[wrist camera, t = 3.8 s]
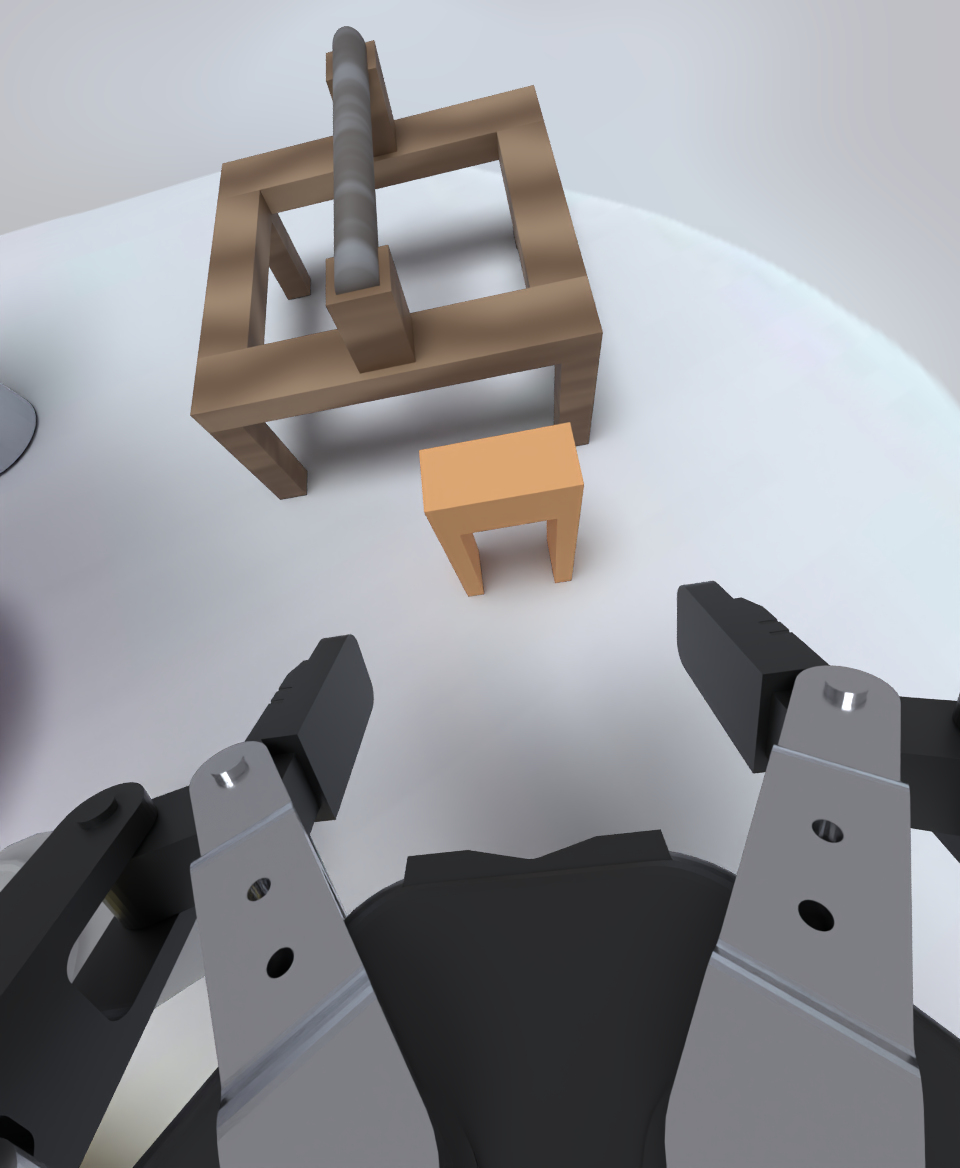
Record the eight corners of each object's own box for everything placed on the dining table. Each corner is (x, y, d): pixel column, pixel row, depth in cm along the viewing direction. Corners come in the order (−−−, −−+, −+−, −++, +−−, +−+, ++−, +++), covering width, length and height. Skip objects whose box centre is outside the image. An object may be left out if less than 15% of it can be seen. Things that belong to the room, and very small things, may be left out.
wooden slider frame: (588, 443, 31) (616, 226, 18) (280, 499, 33) (108, 338, 20) (537, 227, 39) (531, -35, 26) (289, 283, 41) (168, 66, 28)
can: (281, 789, 27) (87, 816, 15) (290, 944, 24) (64, 1113, 13) (159, 818, 27) (-116, 866, 16) (155, 974, 24) (-179, 1164, 13)
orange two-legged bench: (571, 580, 28) (584, 484, 18) (468, 596, 29) (424, 512, 19) (562, 536, 29) (570, 422, 19) (463, 552, 30) (418, 450, 20)
